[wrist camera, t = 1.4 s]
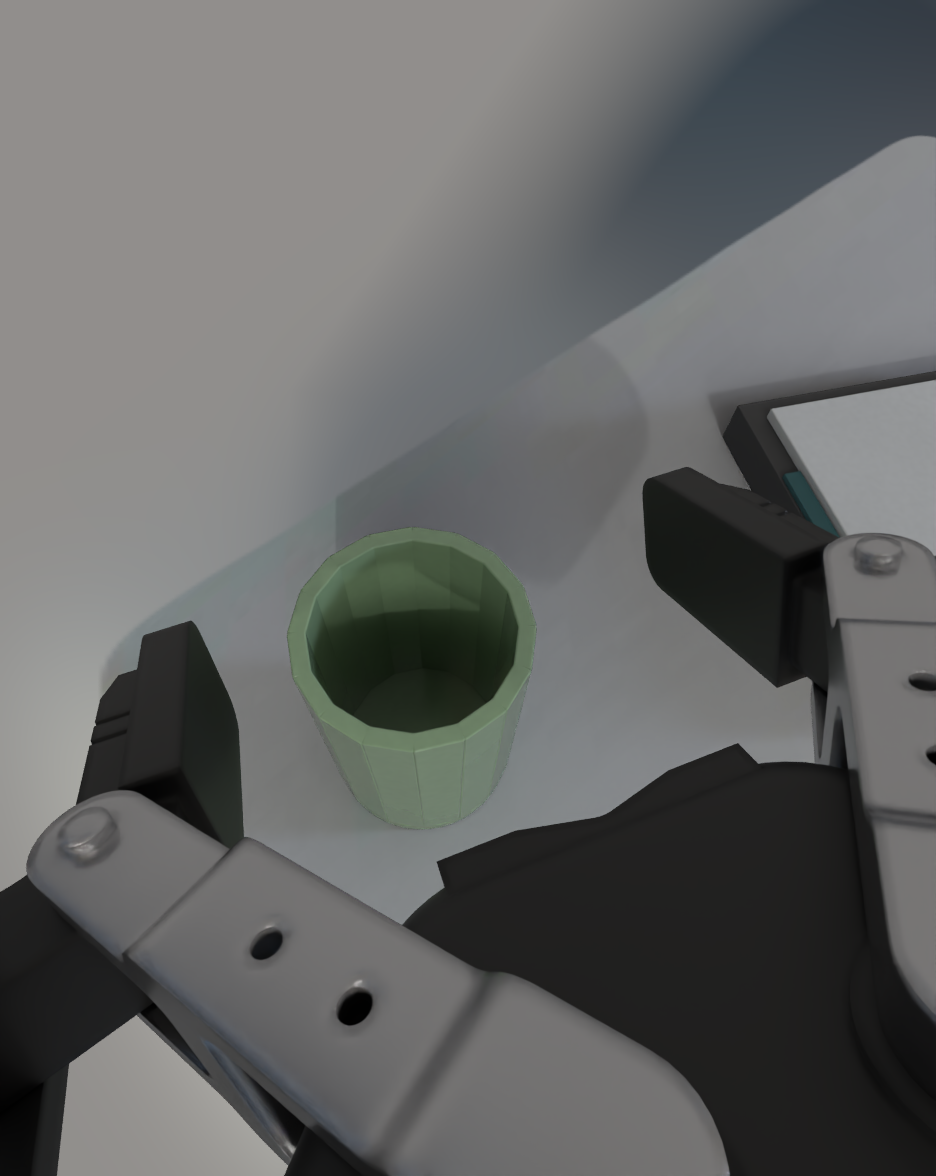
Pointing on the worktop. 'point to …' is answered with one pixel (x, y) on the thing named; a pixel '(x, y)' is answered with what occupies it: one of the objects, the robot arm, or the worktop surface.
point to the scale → (846, 456)
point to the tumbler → (414, 670)
